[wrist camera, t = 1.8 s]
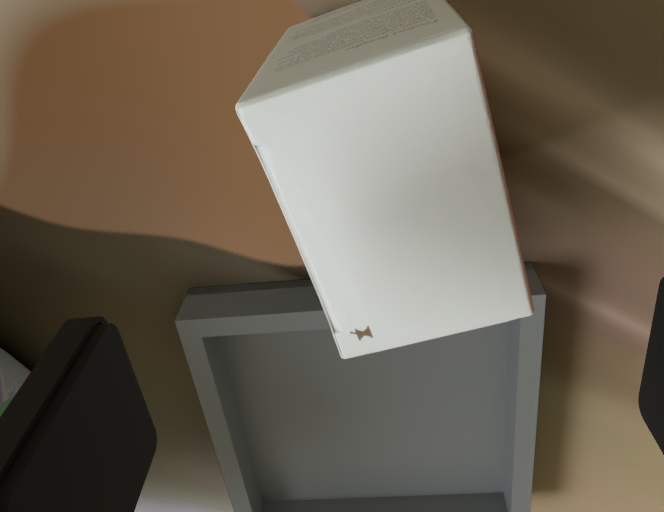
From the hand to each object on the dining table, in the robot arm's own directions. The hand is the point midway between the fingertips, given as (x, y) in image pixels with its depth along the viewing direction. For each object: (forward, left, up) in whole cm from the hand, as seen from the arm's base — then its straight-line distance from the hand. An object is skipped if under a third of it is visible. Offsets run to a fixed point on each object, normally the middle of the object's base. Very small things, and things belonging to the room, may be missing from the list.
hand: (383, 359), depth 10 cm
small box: (-1, 0, -16) cm, 16 cm away
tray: (+1, +16, -15) cm, 22 cm away
